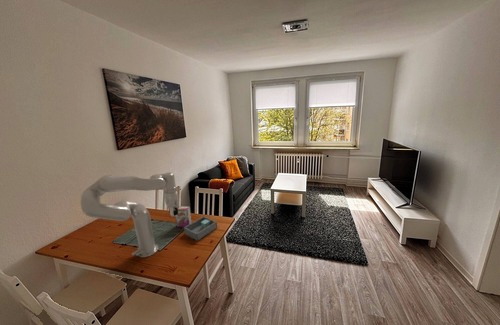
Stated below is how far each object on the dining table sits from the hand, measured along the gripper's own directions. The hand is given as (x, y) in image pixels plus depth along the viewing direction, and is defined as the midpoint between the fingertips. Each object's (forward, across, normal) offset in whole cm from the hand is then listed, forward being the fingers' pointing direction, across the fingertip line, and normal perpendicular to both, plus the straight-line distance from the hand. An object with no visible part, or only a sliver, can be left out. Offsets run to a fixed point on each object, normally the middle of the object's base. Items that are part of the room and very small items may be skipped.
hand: (173, 213), depth 141 cm
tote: (+20, +8, +16) cm, 27 cm away
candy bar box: (+21, -11, +14) cm, 27 cm away
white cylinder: (+1, 0, 0) cm, 1 cm away
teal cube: (+20, +8, +21) cm, 30 cm away
